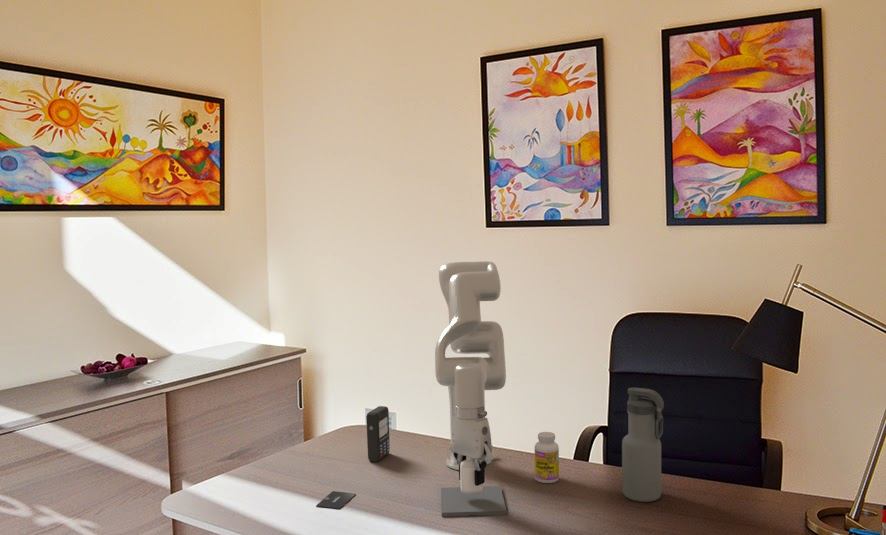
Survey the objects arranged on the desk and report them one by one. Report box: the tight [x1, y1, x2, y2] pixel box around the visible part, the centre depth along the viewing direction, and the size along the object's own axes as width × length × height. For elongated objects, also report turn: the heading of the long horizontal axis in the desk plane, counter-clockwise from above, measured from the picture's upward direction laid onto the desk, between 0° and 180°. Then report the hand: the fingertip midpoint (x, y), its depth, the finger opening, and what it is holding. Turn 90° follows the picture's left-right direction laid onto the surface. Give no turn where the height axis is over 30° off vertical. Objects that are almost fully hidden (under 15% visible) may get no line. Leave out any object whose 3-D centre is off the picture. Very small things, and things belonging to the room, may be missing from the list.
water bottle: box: [621, 387, 665, 503], centre depth 190 cm, size 10×10×28 cm
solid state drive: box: [315, 490, 356, 510], centre depth 194 cm, size 7×10×1 cm
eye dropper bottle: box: [459, 456, 484, 494], centre depth 189 cm, size 4×6×12 cm
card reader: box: [365, 405, 391, 462], centre depth 225 cm, size 9×4×15 cm, turn 159°
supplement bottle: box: [534, 431, 560, 484], centre depth 204 cm, size 7×7×13 cm
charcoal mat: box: [440, 485, 507, 517], centre depth 190 cm, size 16×16×1 cm
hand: (471, 480), depth 189 cm, fingers closed on eye dropper bottle, 4 cm apart
